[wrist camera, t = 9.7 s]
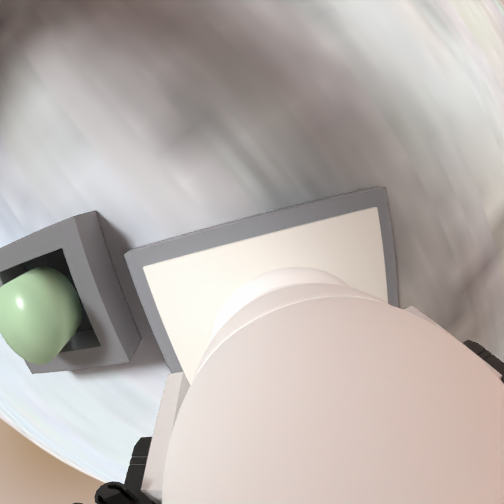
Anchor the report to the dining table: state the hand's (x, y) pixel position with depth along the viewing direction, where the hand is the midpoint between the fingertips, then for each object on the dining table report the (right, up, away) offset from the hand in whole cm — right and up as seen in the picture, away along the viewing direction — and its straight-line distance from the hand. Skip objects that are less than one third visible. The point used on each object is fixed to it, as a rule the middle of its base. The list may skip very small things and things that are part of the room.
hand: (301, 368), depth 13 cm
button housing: (-15, +3, +5) cm, 16 cm away
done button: (-15, +2, +3) cm, 15 cm away
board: (0, +1, +6) cm, 6 cm away
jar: (0, +1, +3) cm, 3 cm away
